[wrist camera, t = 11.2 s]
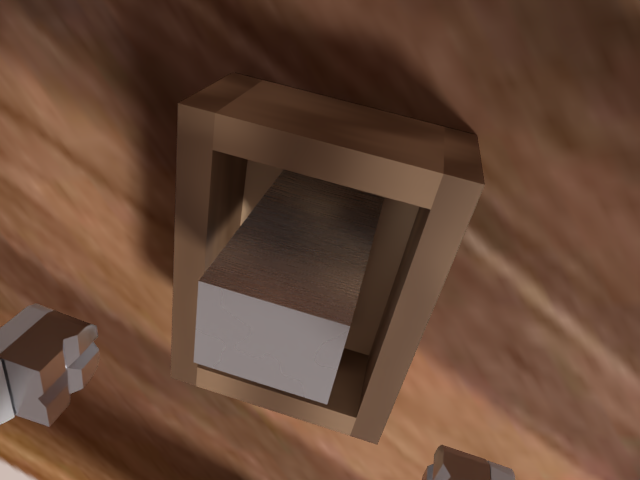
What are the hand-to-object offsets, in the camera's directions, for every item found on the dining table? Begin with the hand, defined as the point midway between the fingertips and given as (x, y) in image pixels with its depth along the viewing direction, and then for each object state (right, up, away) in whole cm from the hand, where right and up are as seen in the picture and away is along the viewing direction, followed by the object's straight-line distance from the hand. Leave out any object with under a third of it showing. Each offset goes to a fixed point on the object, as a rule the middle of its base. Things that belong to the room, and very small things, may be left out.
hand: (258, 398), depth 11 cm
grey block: (+1, +3, +10) cm, 10 cm away
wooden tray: (+1, +4, +10) cm, 11 cm away
